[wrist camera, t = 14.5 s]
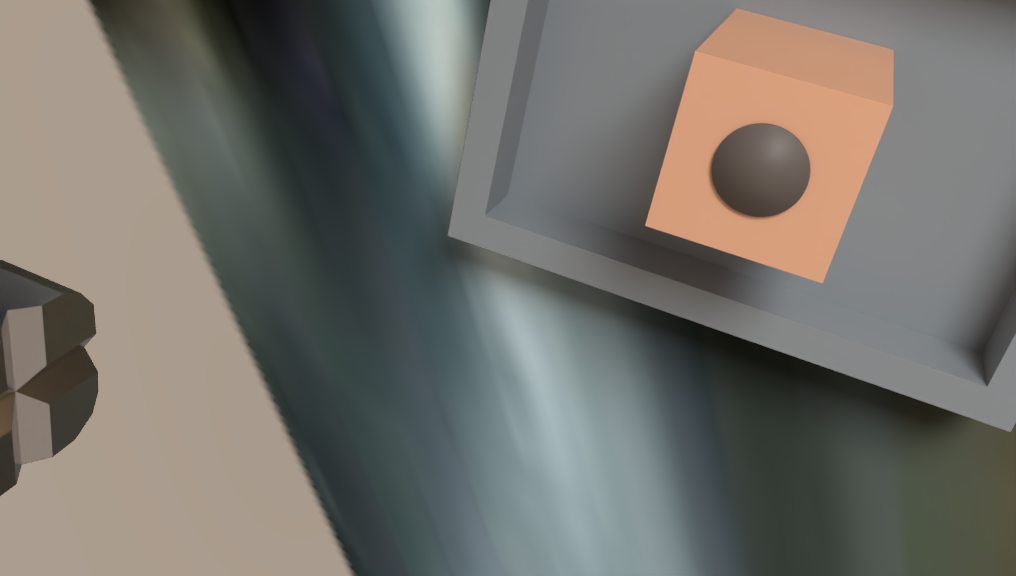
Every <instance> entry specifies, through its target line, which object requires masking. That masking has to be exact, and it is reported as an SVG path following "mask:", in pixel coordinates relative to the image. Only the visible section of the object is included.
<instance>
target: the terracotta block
mask: <svg viewBox="0 0 1016 576" xmlns="http://www.w3.org/2000/svg"><path fill="white" fill-rule="evenodd" d="M893 78H894V50H892V49H888V48H884V47H881V46H877V45H873V44H869V43H865V42H862V41H858V40H854V39H850V38H847V37H843V36H839V35H835V34H832V33H828V32H824V31H820V30H816V29H813V28H809V27H805V26H801V25H798V24H794V23H790V22H786V21H783V20H779V19H775V18H771V17H767V16H764V15H760V14H756V13H752V12H749V11H745V10H741V9H736V10H735V11H734V12H733V13H732V14H731V15H730V16H729V17H728V18H727V19H726V20H725V21H724V22H723V23H722V24H721V25H720V26H719V27H718V28H717V29H716V30H715V31H714V32H713V33H712V34H711V35H710V36H709V37H708V38H707V39H706V40H705V41H704V42H703V43H702V44H701V46H700V47H699V48H698V49H697V50H696V51H695V53H694V57H693V60H692V64H691V67H690V71H689V74H688V78H687V81H686V85H685V88H684V92H683V95H682V99H681V102H680V106H679V109H678V113H677V116H676V120H675V123H674V127H673V130H672V133H671V137H670V140H669V144H668V147H667V151H666V154H665V158H664V161H663V165H662V168H661V172H660V175H659V179H658V182H657V186H656V189H655V193H654V196H653V200H652V203H651V207H650V210H649V214H648V217H647V221H646V224H645V226H647V227H650V228H653V229H656V230H660V231H663V232H666V233H669V234H672V235H675V236H678V237H681V238H684V239H687V240H690V241H693V242H696V243H700V244H703V245H706V246H709V247H712V248H715V249H718V250H721V251H724V252H727V253H730V254H733V255H736V256H740V257H743V258H746V259H749V260H752V261H755V262H758V263H761V264H764V265H767V266H770V267H773V268H777V269H780V270H783V271H786V272H789V273H792V274H795V275H798V276H801V277H804V278H807V279H810V280H813V281H817V282H820V283H823V281H824V278H825V276H826V273H827V271H828V268H829V266H830V263H831V261H832V258H833V256H834V253H835V251H836V248H837V246H838V243H839V241H840V238H841V236H842V233H843V231H844V228H845V226H846V223H847V221H848V218H849V216H850V213H851V211H852V208H853V206H854V203H855V201H856V198H857V196H858V193H859V191H860V188H861V186H862V183H863V181H864V178H865V176H866V173H867V171H868V168H869V166H870V163H871V161H872V158H873V156H874V153H875V151H876V148H877V146H878V143H879V141H880V138H881V136H882V133H883V131H884V128H885V126H886V123H887V121H888V118H889V116H890V113H891V111H892V108H893Z"/></svg>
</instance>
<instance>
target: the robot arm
mask: <svg viewBox="0 0 1016 576" xmlns="http://www.w3.org/2000/svg"><path fill="white" fill-rule="evenodd" d="M95 334H96V327H95V316H94V305H93V304H92V303H91V302H90V301H89V300H88V299H87V298H85V297H84V296H83V295H82V294H81V293H79V292H76V291H74V290H72V289H69V288H67V287H65V286H62V285H60V284H58V283H55V282H53V281H50V280H48V279H46V278H43V277H41V276H38V275H36V274H34V273H31V272H29V271H27V270H24V269H22V268H19V267H17V266H15V265H13V264H10V263H7V262H5V261H3V260H0V496H1V495H2V494H3V493H5V492H6V491H8V490H9V489H10V488H12V487H13V486H14V485H16V484H17V480H18V476H19V472H20V469H21V465H22V464H26V463H30V462H33V461H38V460H42V459H46V458H50V457H53V456H54V455H56V454H57V453H58V452H59V451H61V450H62V449H63V448H65V447H66V446H67V445H68V444H70V443H71V442H72V441H74V440H75V439H76V437H77V436H78V434H79V433H80V431H81V430H82V428H83V427H84V425H85V424H86V422H87V421H88V419H89V418H90V416H91V415H92V413H93V409H94V405H95V402H96V398H97V394H98V371H97V369H96V367H95V366H94V364H93V362H92V360H91V358H90V357H89V355H88V353H87V351H86V349H85V348H84V346H85V345H86V344H87V343H88V342H89V341H90V340H91V339H92V338H93V336H94V335H95Z"/></svg>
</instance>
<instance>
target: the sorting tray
mask: <svg viewBox="0 0 1016 576" xmlns="http://www.w3.org/2000/svg"><path fill="white" fill-rule="evenodd" d="M736 9H741V10H745V11H749V12H752V13H756V14H760V15H764V16H767V17H771V18H775V19H779V20H783V21H786V22H790V23H794V24H798V25H801V26H805V27H809V28H813V29H816V30H820V31H824V32H828V33H832V34H835V35H839V36H843V37H847V38H850V39H854V40H858V41H862V42H865V43H869V44H873V45H877V46H881V47H884V48H888V49H892V50H894V78H893V108H892V111H891V113H890V116H889V118H888V121H887V123H886V126H885V128H884V131H883V133H882V136H881V138H880V141H879V143H878V146H877V148H876V151H875V153H874V156H873V158H872V161H871V163H870V166H869V168H868V171H867V173H866V176H865V178H864V181H863V183H862V186H861V188H860V191H859V193H858V196H857V198H856V201H855V203H854V206H853V208H852V211H851V213H850V216H849V218H848V221H847V223H846V226H845V228H844V231H843V233H842V236H841V238H840V241H839V243H838V246H837V248H836V251H835V253H834V256H833V258H832V261H831V263H830V266H829V268H828V271H827V273H826V276H825V278H824V281H823V283H820V282H817V281H813V280H810V279H807V278H804V277H801V276H798V275H795V274H792V273H789V272H786V271H783V270H780V269H777V268H773V267H770V266H767V265H764V264H761V263H758V262H755V261H752V260H749V259H746V258H743V257H740V256H736V255H733V254H730V253H727V252H724V251H721V250H718V249H715V248H712V247H709V246H706V245H703V244H700V243H696V242H693V241H690V240H687V239H684V238H681V237H678V236H675V235H672V234H669V233H666V232H663V231H660V230H656V229H653V228H650V227H647V226H645V224H646V221H647V217H648V214H649V210H650V207H651V203H652V200H653V196H654V193H655V189H656V186H657V182H658V179H659V175H660V172H661V168H662V165H663V161H664V158H665V154H666V151H667V147H668V144H669V140H670V137H671V133H672V130H673V127H674V123H675V120H676V116H677V113H678V109H679V106H680V102H681V99H682V95H683V92H684V88H685V85H686V81H687V78H688V74H689V71H690V67H691V64H692V60H693V57H694V53H695V51H696V50H697V49H698V48H699V47H700V46H701V44H702V43H703V42H704V41H705V40H706V39H707V38H708V37H709V36H710V35H711V34H712V33H713V32H714V31H715V30H716V29H717V28H718V27H719V26H720V25H721V24H722V23H723V22H724V21H725V20H726V19H727V18H728V17H729V16H730V15H731V14H732V13H733V12H734V11H735V10H736ZM448 236H450V237H453V238H455V239H458V240H461V241H464V242H467V243H470V244H473V245H476V246H478V247H481V248H484V249H487V250H490V251H493V252H496V253H499V254H501V255H504V256H507V257H510V258H513V259H516V260H519V261H521V262H524V263H527V264H530V265H533V266H536V267H539V268H542V269H544V270H547V271H550V272H553V273H556V274H559V275H562V276H564V277H567V278H570V279H573V280H576V281H579V282H582V283H585V284H587V285H590V286H593V287H596V288H599V289H602V290H605V291H608V292H610V293H613V294H616V295H619V296H622V297H625V298H628V299H630V300H633V301H636V302H639V303H642V304H645V305H648V306H651V307H653V308H656V309H659V310H662V311H665V312H668V313H671V314H673V315H676V316H679V317H682V318H685V319H688V320H691V321H694V322H696V323H699V324H702V325H705V326H708V327H711V328H714V329H717V330H719V331H722V332H725V333H728V334H731V335H734V336H737V337H739V338H742V339H745V340H748V341H751V342H754V343H757V344H760V345H762V346H765V347H768V348H771V349H774V350H777V351H780V352H782V353H785V354H788V355H791V356H794V357H797V358H800V359H803V360H805V361H808V362H811V363H814V364H817V365H820V366H823V367H826V368H828V369H831V370H834V371H837V372H840V373H843V374H846V375H848V376H851V377H854V378H857V379H860V380H863V381H866V382H869V383H871V384H874V385H877V386H880V387H883V388H886V389H889V390H891V391H894V392H897V393H900V394H903V395H906V396H909V397H912V398H914V399H917V400H920V401H923V402H926V403H929V404H932V405H935V406H937V407H940V408H943V409H946V410H949V411H952V412H955V413H957V414H960V415H963V416H966V417H969V418H972V419H975V420H978V421H980V422H983V423H986V424H989V425H992V426H995V427H998V428H1000V429H1003V430H1006V431H1009V432H1011V430H1012V428H1013V427H1014V425H1015V423H1016V0H491V1H490V6H489V12H488V17H487V23H486V28H485V34H484V39H483V45H482V50H481V56H480V61H479V67H478V72H477V78H476V83H475V89H474V94H473V100H472V105H471V110H470V116H469V121H468V127H467V132H466V138H465V143H464V149H463V154H462V160H461V165H460V171H459V176H458V182H457V187H456V193H455V198H454V204H453V209H452V215H451V220H450V226H449V231H448Z"/></svg>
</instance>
